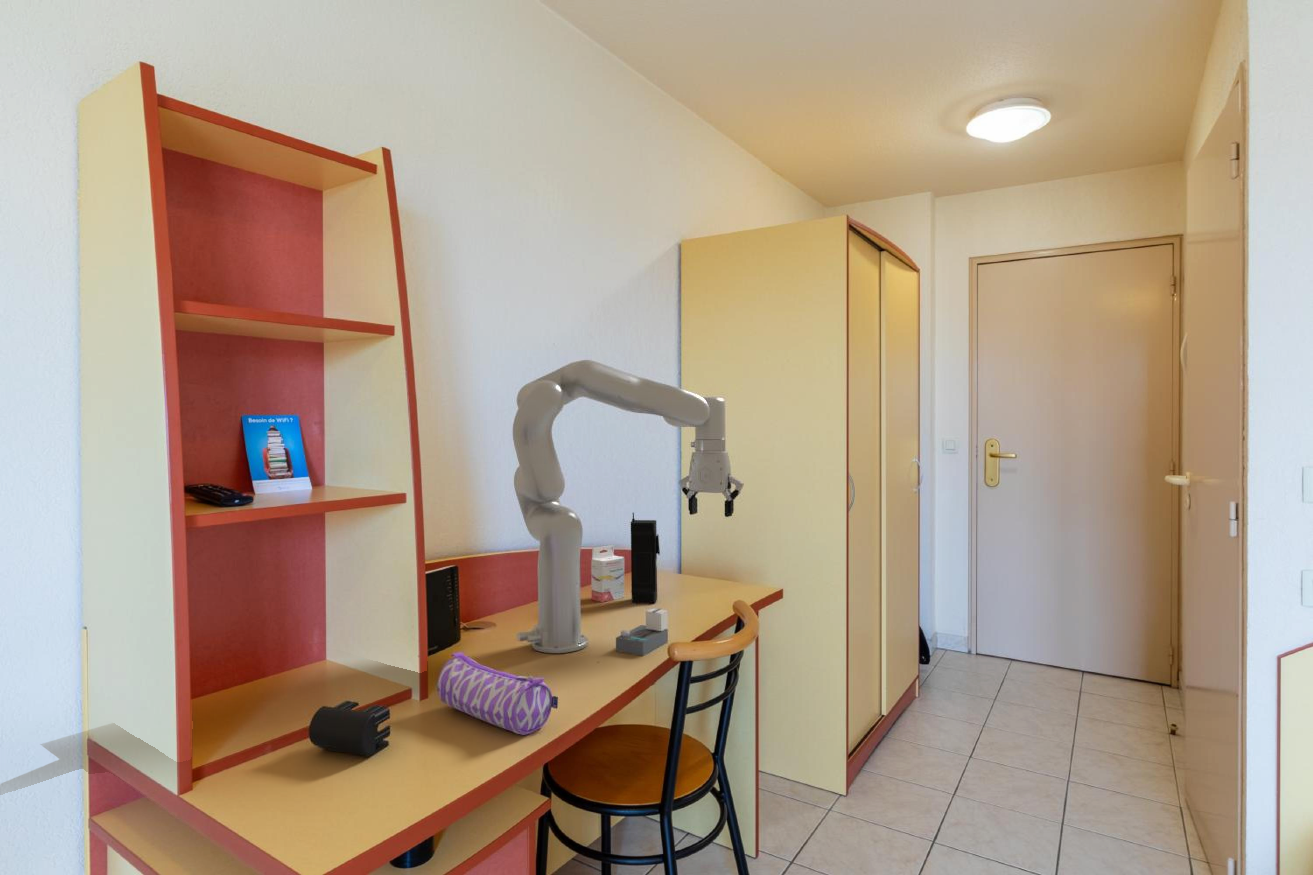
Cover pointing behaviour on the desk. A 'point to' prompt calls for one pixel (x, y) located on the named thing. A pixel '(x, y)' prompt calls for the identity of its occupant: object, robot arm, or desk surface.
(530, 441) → the robot arm
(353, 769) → the desk surface
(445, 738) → the desk surface
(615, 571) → the ink cartridge box
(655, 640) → the console
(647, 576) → the portable radio
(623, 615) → the desk surface
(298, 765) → the desk surface
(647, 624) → the block
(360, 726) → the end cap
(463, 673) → the pencil case
